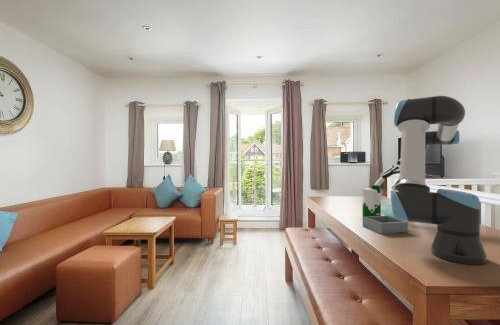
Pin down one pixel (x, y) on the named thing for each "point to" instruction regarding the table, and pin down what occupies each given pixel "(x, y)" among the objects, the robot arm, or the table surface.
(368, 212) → the soya milk
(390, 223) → the tray
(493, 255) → the table surface
